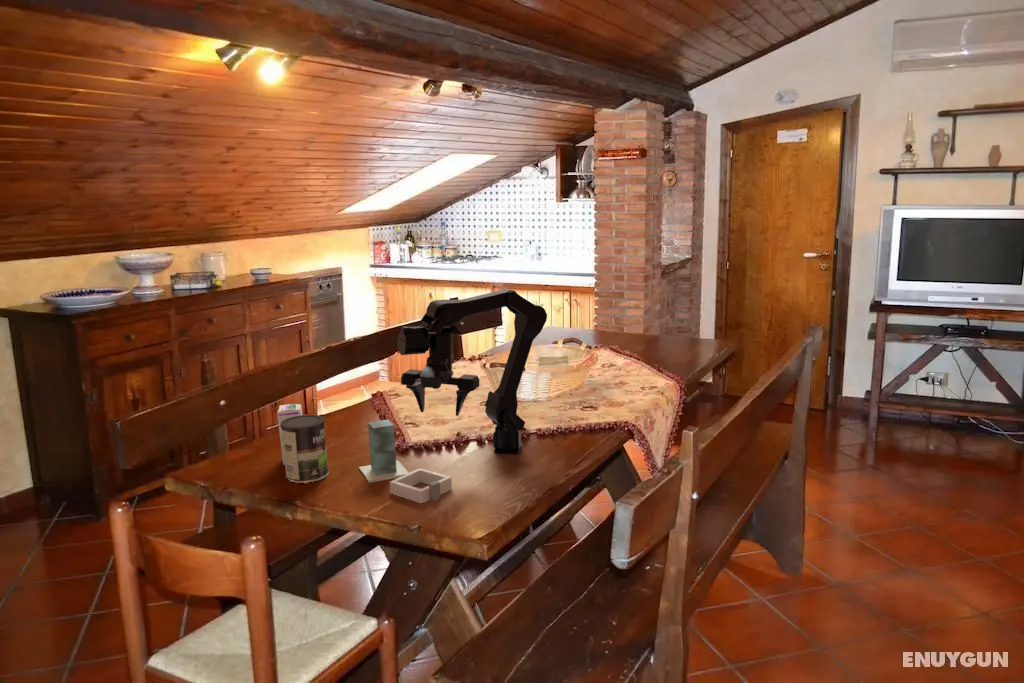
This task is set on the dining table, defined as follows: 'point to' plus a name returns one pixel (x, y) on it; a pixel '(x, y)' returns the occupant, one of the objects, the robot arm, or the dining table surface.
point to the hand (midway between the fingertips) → (439, 413)
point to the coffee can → (304, 448)
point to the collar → (431, 492)
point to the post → (382, 447)
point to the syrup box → (286, 413)
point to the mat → (373, 477)
